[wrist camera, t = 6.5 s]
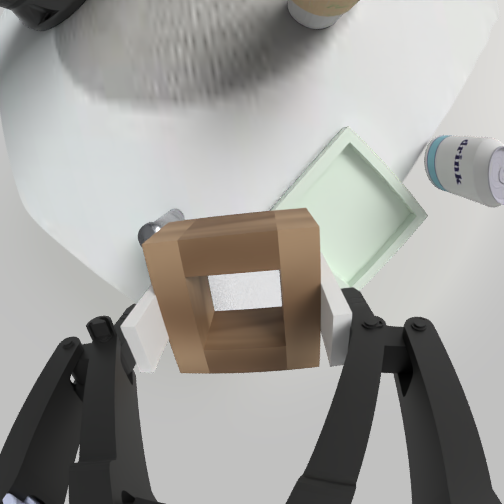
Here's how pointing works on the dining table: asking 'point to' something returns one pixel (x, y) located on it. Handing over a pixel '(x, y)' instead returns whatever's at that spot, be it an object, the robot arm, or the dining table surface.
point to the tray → (355, 208)
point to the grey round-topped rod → (158, 224)
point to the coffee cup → (319, 11)
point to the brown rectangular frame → (229, 262)
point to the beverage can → (467, 167)
